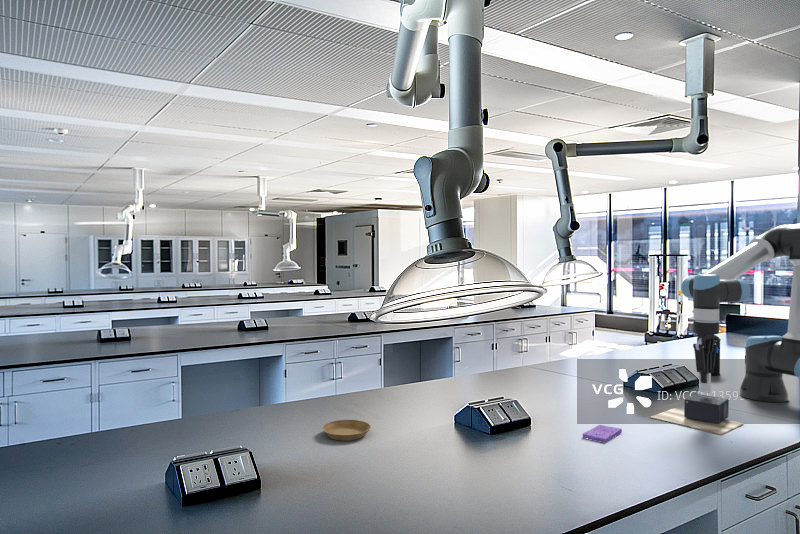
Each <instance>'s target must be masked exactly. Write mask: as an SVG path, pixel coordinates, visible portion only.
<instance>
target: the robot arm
mask: <svg viewBox="0 0 800 534" xmlns="http://www.w3.org/2000/svg"><path fill="white" fill-rule="evenodd" d="M780 257H781V258H782V257H788V261H789V262H790V264H792V266H793V268H792V279H791V280H792V281H791V289H790V290H791V291H790V301H789V303H790V304H789V310H788V311H789V313H788V322H787V323H788V324H787V332H786V333H785V334H783V335H782V336H781V335H753V336H752V335H751V336H748V337H747V338H746V341H745V346H744V349H745V350H744V351H745V355H744V356H745V375H744V378H743V380H742V382H741V384H740V385H741V386H740V387H739V395H740V396H741V397H743V398H746V399H750V400H754V401H758V402H759V401H760V402H765V403H767V402H769V403H783V402H787V401H789V393H788V389H787V387H786V385H785V381H784V378H783V375H786V376H792V377H795V378H799V379H800V223H795V224H792V223H791V224H790V223H789V224H781V225H778V226H775V227H773V228H771V229H768V230H766V231H765V232H762V233H761V234H759V235H758V236H756V237H754V238H753V239H751V240H750V241H749V243H748V244H747V246H744V247H743V248H741V250H739V251H737V252H735V253H734V254H733V255H731V256H729V257H727V258H726V259H724V260H723V261H721V262H720V263H718V264H716V265H714V266H713V267H712V268H710V269H709V270H707V271H705V272H704V273H701V274H700V273H699V274H696V275H694V276H692V277H686V278H684V280H683V281H682V282H681V287H680V288H681V293H682V294H683V296H684V297H686V298H689V299H693V301H692V303H693V306H692V307H693V309H692V314H693V319H692V320H694V321H693V323H692V331H693V333H695V334H697V339H696V343H693V345H692V346H693V350H694V359H695V366H696V367H695V368H696V372H697V373H699V372H700V373H699V376H700V377H699V392H700V393H705V394H711V392H712V390H711V389H712V385H711V384H712V383H711V382H712V381H711V380H712V376H711V373H714V371H712V370H714V367H715V358H716V350H717V345H718V341H715V340H714V335H718V334H719V333H720V323H719V321H720V303H741V302H745V301H746V300H748V299H749V298H750V296H751V286H750V284H749V283H748V282H747V281H745V280H743V279H738V278H740V277H741V276H742V275H744V274H745V273H747V272H749V271H750V270H752V269H753V268H755V267H757V266H758V265H760V264H761V263H763V262H770V261H771V260H774V259H776V258H780ZM710 372H711V373H710Z"/></svg>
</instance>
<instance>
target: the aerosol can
mask: <svg viewBox="0 0 800 534" xmlns="http://www.w3.org/2000/svg"><path fill="white" fill-rule="evenodd" d="M714 340H715V341H718V345H717V350H716V358H715V367H714V370H712V371H714V373H711V372H710V373H711V377H719V376H721V341H722V340H721V338H720V337H719V336H718V335H717V334H714ZM698 373H699V374H700V372H698Z"/></svg>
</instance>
